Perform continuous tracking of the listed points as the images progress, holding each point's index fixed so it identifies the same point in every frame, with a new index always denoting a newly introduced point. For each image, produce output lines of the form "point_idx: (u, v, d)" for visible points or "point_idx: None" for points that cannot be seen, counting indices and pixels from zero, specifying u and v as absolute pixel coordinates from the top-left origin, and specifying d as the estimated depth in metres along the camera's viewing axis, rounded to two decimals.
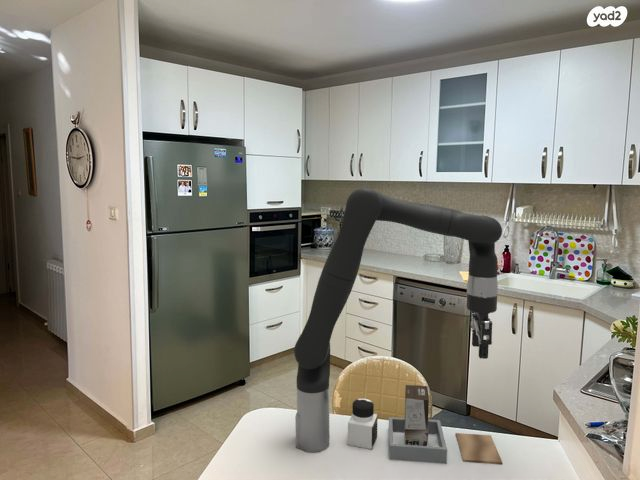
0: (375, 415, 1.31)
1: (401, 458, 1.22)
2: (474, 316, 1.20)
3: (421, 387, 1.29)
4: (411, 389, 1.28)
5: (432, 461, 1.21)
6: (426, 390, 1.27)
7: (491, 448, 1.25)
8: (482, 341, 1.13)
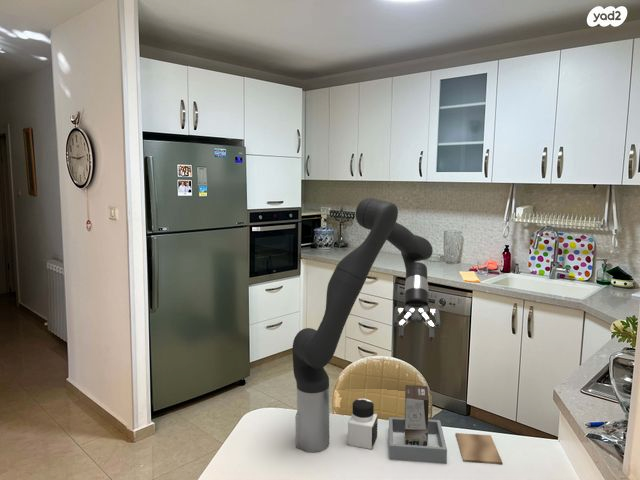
0: (375, 415, 1.31)
1: (401, 458, 1.22)
2: None
3: (421, 387, 1.29)
4: (411, 389, 1.28)
5: (432, 461, 1.21)
6: (426, 390, 1.27)
7: (491, 448, 1.25)
8: (439, 322, 1.39)
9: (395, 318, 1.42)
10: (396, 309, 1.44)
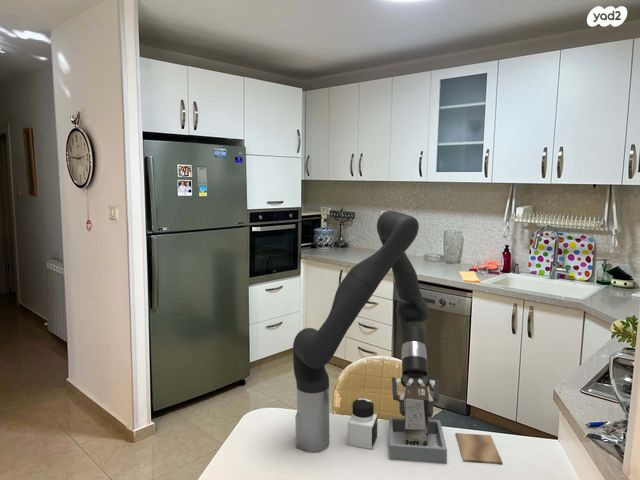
0: (375, 415, 1.31)
1: (401, 458, 1.22)
2: None
3: (421, 387, 1.29)
4: (411, 389, 1.28)
5: (432, 461, 1.21)
6: (426, 390, 1.27)
7: (491, 448, 1.25)
8: (438, 397, 1.29)
9: (395, 391, 1.31)
10: (394, 381, 1.33)
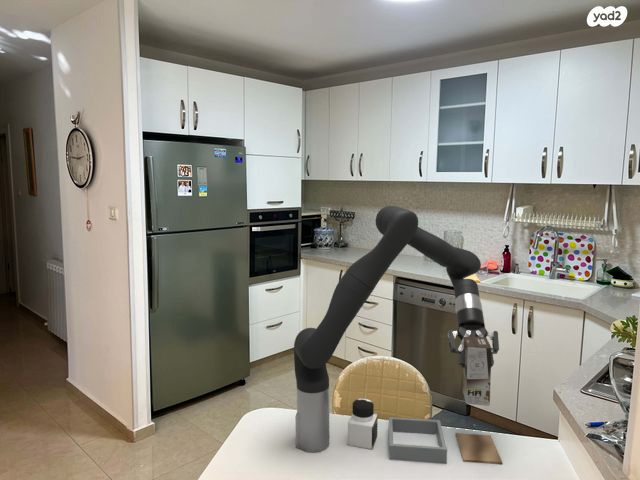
0: (375, 415, 1.31)
1: (401, 458, 1.22)
2: None
3: (480, 337, 1.26)
4: (470, 339, 1.25)
5: (432, 461, 1.21)
6: (486, 340, 1.24)
7: (491, 448, 1.25)
8: (498, 347, 1.26)
9: (452, 343, 1.28)
10: (451, 333, 1.29)
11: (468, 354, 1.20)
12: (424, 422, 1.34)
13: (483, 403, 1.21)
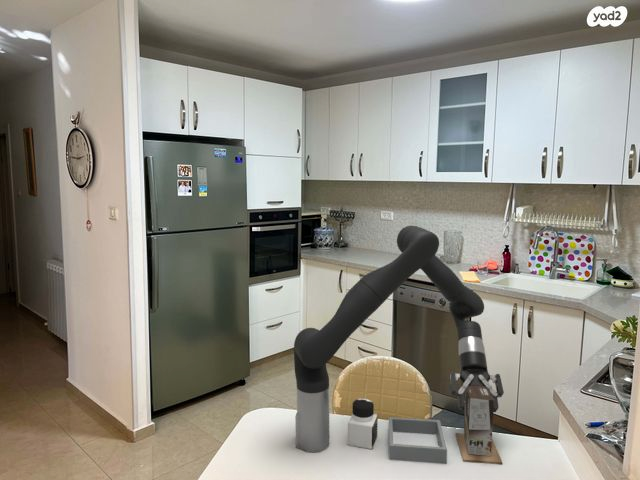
0: (375, 415, 1.31)
1: (401, 458, 1.22)
2: None
3: (482, 386, 1.28)
4: (472, 388, 1.27)
5: (432, 461, 1.21)
6: (488, 390, 1.26)
7: (491, 448, 1.25)
8: (503, 391, 1.27)
9: (453, 386, 1.29)
10: (453, 375, 1.31)
11: (470, 405, 1.21)
12: (424, 422, 1.34)
13: (485, 453, 1.22)
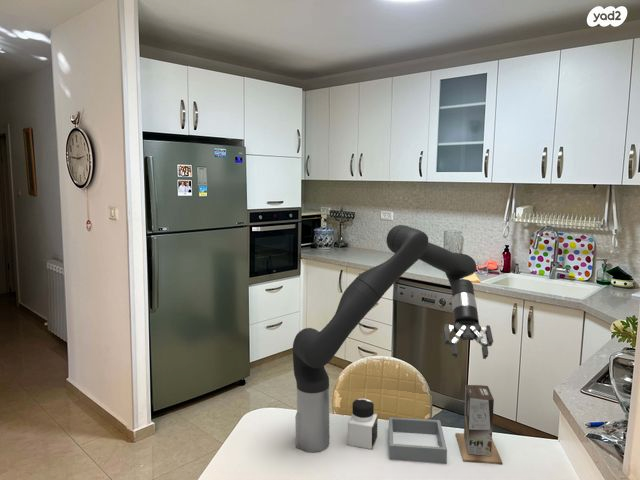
0: (375, 415, 1.31)
1: (401, 458, 1.22)
2: None
3: (482, 386, 1.28)
4: (472, 388, 1.27)
5: (432, 461, 1.21)
6: (488, 390, 1.26)
7: (491, 448, 1.25)
8: (492, 340, 1.39)
9: (447, 336, 1.41)
10: (447, 327, 1.43)
11: (470, 405, 1.21)
12: (424, 422, 1.34)
13: (485, 453, 1.22)
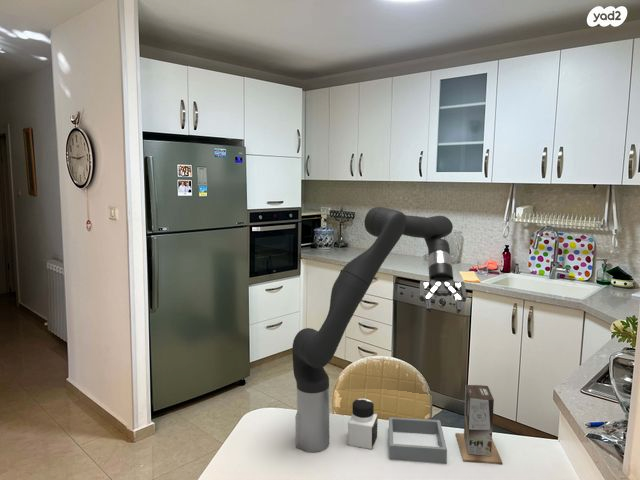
0: (375, 415, 1.31)
1: (401, 458, 1.22)
2: None
3: (482, 386, 1.28)
4: (472, 388, 1.27)
5: (432, 461, 1.21)
6: (488, 390, 1.26)
7: (491, 448, 1.25)
8: None
9: (422, 292, 1.42)
10: (422, 283, 1.44)
11: (470, 405, 1.21)
12: (424, 422, 1.34)
13: (485, 453, 1.22)
